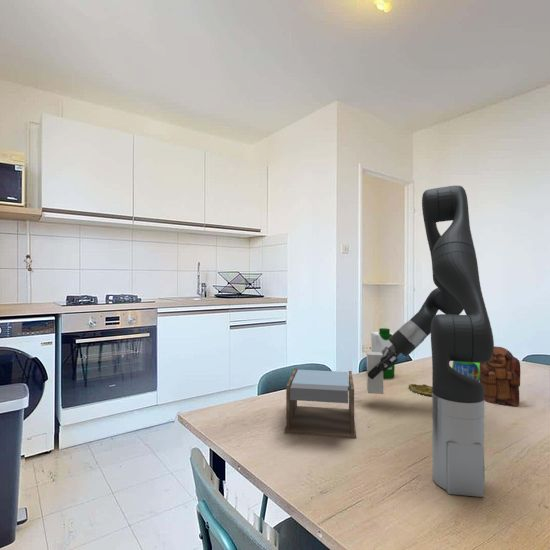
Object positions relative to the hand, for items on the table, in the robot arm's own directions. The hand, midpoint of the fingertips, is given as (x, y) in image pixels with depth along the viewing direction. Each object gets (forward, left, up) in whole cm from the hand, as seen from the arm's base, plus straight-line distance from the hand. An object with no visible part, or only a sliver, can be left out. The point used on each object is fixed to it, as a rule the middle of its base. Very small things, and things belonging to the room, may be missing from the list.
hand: (368, 374), depth 115 cm
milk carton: (+36, -9, -10) cm, 39 cm away
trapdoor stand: (-16, +14, -10) cm, 23 cm away
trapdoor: (-19, +14, +1) cm, 24 cm away
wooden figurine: (+11, -43, -10) cm, 45 cm away
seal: (+18, -22, -10) cm, 30 cm away
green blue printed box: (+31, -40, -10) cm, 51 cm away
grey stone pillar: (0, -2, -5) cm, 6 cm away
